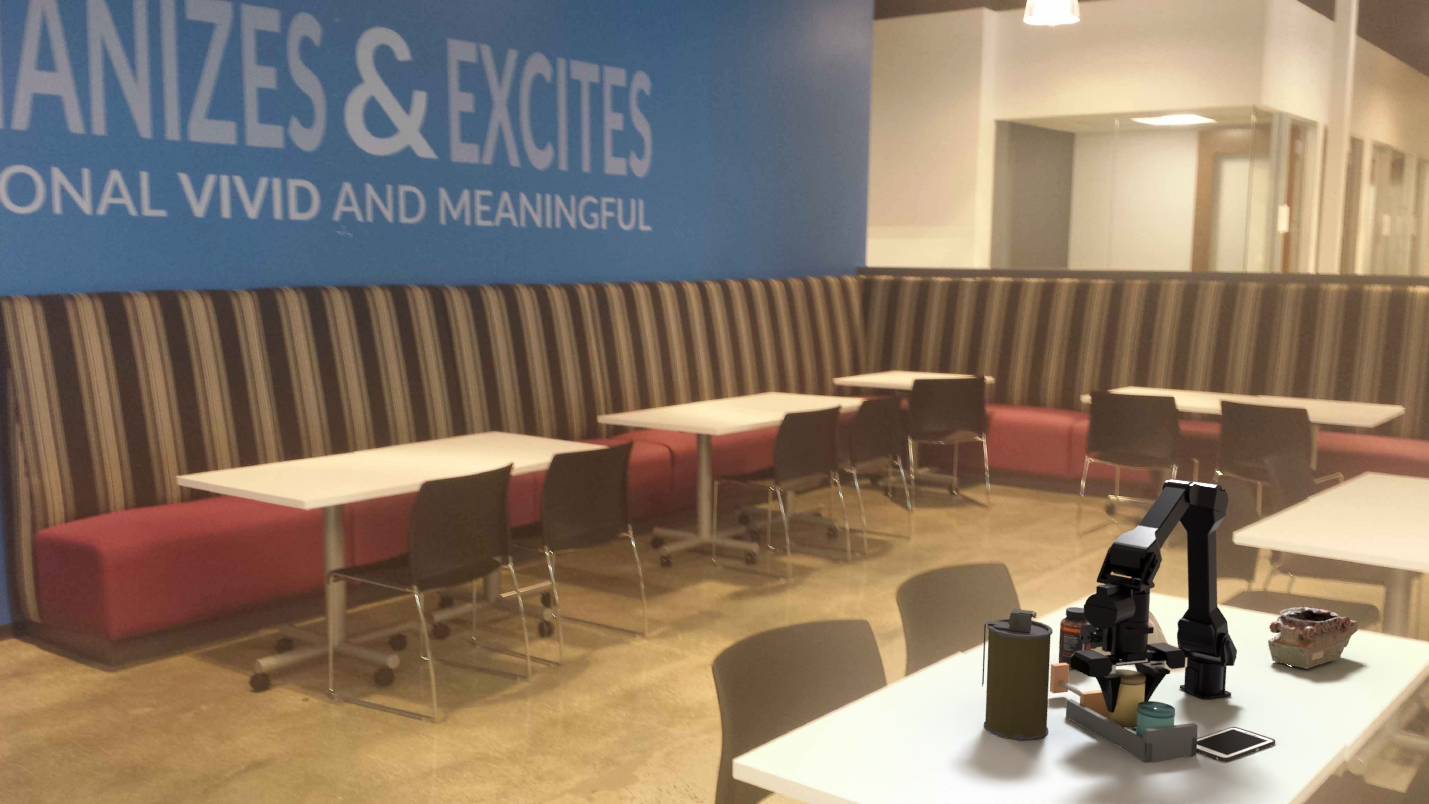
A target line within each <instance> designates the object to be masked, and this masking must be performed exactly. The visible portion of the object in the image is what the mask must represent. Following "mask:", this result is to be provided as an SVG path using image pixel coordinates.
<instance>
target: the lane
mask: <svg viewBox="0 0 1429 804" xmlns="http://www.w3.org/2000/svg"><path fill="white" fill-rule="evenodd" d="M1065 717H1066V718H1067V719H1070V721H1073V722H1074V723H1076V724H1078V725H1079V726H1081V727H1084V728H1085V729H1086V730H1089V731H1091V732H1092V733H1094V734H1095V735H1097V736H1099V737H1101V738H1103V739H1104V740H1106V741H1108V742H1109V743H1111V744H1113V745H1114V746H1117V747H1118V748H1120V749H1122V750H1124V751H1125V752H1127V753H1129V754H1131V755H1132V756H1134V757H1136V758H1137V759H1139V760H1141V761H1142V762H1144V763H1153V762H1159V761H1168V760H1175V759H1183V758H1189V757H1190V758H1191V757H1196V756H1197V753H1196V751H1197V738H1198V732H1199V731H1198V730H1199V729H1198V728H1199V725H1198V724H1197V723H1194V722H1190V723H1181V724H1174V725H1172V726H1164V727H1156V728H1148V729H1143V738H1142V737H1140V736H1138V735H1137V734H1136V732H1135V733H1134V732H1133V731H1131V730H1129V729H1128V728H1124V727H1122V726H1120V725H1118V724H1116V723H1115V722H1113V721H1111V720H1109V719H1108V717H1104V716H1102V715H1100V714H1098V713H1096V712H1094V711H1093V710H1091V709H1089V708H1087V707H1085V706H1083V705H1082V704H1080V702H1078V701H1076V700H1074V699H1073V698H1069V699H1066V706H1065Z"/></svg>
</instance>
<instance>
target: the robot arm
mask: <svg viewBox="0 0 1429 804" xmlns="http://www.w3.org/2000/svg"><path fill="white" fill-rule="evenodd" d="M1228 505H1229V494H1228V493H1227V490H1226V489H1224V488H1223V486H1222V485H1221V484H1215V483H1209V482H1200V481H1193V480H1181V479H1173V478H1171V479H1166V480H1165V481H1164V483H1163V484H1162V489H1161V492H1160V493H1159V494H1158V496H1157V498H1156V499H1155V501H1154V502H1153V503H1152V505H1151V506H1150V507H1149V508H1148V510H1147V511H1146V513H1145V515H1144V516H1143V517H1142V518H1141V520H1140V522H1138V524H1137V525H1136V527H1135V528H1133V529H1130V530H1129V531H1125V532H1123V533H1121V534H1120V535H1119V536H1118V537H1117V539H1115V540H1114V541H1113V542H1112V544H1111V545H1110V547H1108V550H1107V551H1106V554H1105V557H1104V559H1103V561H1102V565H1101V568H1100V570H1099V572H1098V576H1097V578H1096V583H1099V584H1098V585H1096V590H1095V591H1096V592H1095V593H1093V594H1090V595H1089V596H1088V597H1087V599H1086V600H1085V603H1084V604H1083V608H1084V614H1085V617H1086V619H1087V621H1088V622H1089V623H1090V624H1088V625H1081V630H1080V638H1081V642H1082V643H1083V644H1090V649H1091V650H1083V651H1075V652H1074V653H1073V654H1072V656H1071V664H1070V667H1071V668H1073V669H1075V670H1074V671H1077V672H1080V673H1081V674H1083V675H1085V676H1087V677H1089V678H1095V679H1096V681H1097V683H1098V685H1099V688H1100V690H1101V691H1102V694H1103V697H1104V700H1105V703H1106V706H1107V710H1108V711H1109V712H1111V713H1113V712H1114V710H1115V707H1116V702H1117V697H1118V692H1119V687H1120V682H1121V676H1119V675H1117V674H1116V670H1117V667H1125V666H1131V665H1134V667H1135V671H1137V672H1140V673H1142V674H1144V675H1145V676H1146V682H1145V699H1144V701H1150V699H1151V698H1152V696H1153V694H1154V692H1155V690H1156V689H1157V688H1158V687H1159V685H1160V684H1161V682H1162V681H1163V680H1164V678H1165V677H1166V675H1170V674H1171V670H1175V669H1176V670H1177V669H1185V670H1184V682H1183V683H1184V684H1180V685H1179V689H1181V690H1183V691H1185V692H1187V693H1189V694H1192V695H1194V696H1196V697H1198V698H1200V699H1202V700H1203V699H1206V700H1207V699H1215V698H1222V697H1224V698H1225V697H1231V696H1232V692H1230V691H1228V690H1226V683H1227V682H1226V680H1227V667H1233V666H1235V662H1236V660H1237V653H1238V649H1237V647H1236V646H1235V644H1234V641H1233V639H1232V638H1231V635H1230V634H1229V626H1228V620H1227V618H1226V616H1225V615H1224V614H1223V613H1222V611H1221V610H1220V608H1219V607H1218V578H1217V577H1218V575H1217V574H1218V573H1217V572H1218V571H1217V569H1218V568H1217V566H1218V564H1217V563H1218V562H1217V529H1218V528H1219V526H1220V525H1221V524H1222V522H1223V521H1224V519H1225V517H1226V514H1227V508H1228ZM1179 523H1180V525H1181V526H1182V527H1183V528H1184V530H1185V531H1186V553H1187V555H1186V557H1187V558H1186V559H1187V561H1186V562H1187V597H1188V603H1187V605H1188V607H1187V610H1186V611H1185V612H1184V614H1183V615H1182V617H1181V618H1179V619H1178V621H1177V622H1176V623H1177V632H1176V640H1177V641H1176V642H1177V647H1176V646H1173V645H1171V644H1169V643H1166V642H1156V643H1155V642H1153V643H1148V642H1149V641H1148V639H1149V635H1151V634H1154V630H1155V629H1154V626H1152V625H1149V621H1150V620H1149V619H1150V601H1151V599H1150V598H1151V597H1150V596H1151V589H1153V588H1155V586H1156V585H1155V581H1154V579H1155V578H1156V575H1157V574H1158V572H1159V569H1160V567H1161V563H1162V562H1163V557H1162V553H1161V550H1162V548H1163V545H1164V544H1165V542H1166V541H1167V539H1168V538H1169V537H1170V534H1171V533H1172V532H1173V530H1175V527H1177V525H1178V524H1179ZM1112 573H1113V574H1112ZM1097 648H1101V650H1102V651H1103V652H1107V653H1109V654H1102V653H1101V652H1098V651H1096V650H1095V649H1097ZM1166 666H1167V667H1168V668H1169V669H1168V668H1166ZM1170 669H1171V670H1170Z"/></svg>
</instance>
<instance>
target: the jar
mask: <svg viewBox="0 0 1429 804" xmlns="http://www.w3.org/2000/svg"><path fill="white" fill-rule="evenodd" d="M1175 716H1176V708H1175V707H1174V706H1172V705H1171V704H1168V703H1165V702H1161V701H1155V700H1154V701H1153V700H1152V701H1151V700H1149V701H1144V702H1140V703H1138V704H1137V727H1136V728H1135V729H1136V730H1135V734H1137V735H1138V736H1140V737H1142V738H1143V729H1148V728H1156V727H1164V726H1172V725H1175Z"/></svg>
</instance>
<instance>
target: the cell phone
mask: <svg viewBox="0 0 1429 804" xmlns="http://www.w3.org/2000/svg"><path fill="white" fill-rule="evenodd" d="M1275 745H1276V740H1275V739H1274V738H1272V737H1268V736H1265V735H1263V734H1259V733H1256V732H1253V731H1250V730H1247V729H1244V728H1241V727H1237V726H1231V727H1227V728H1224V729H1220V730H1218V731H1215V732H1212V733H1208V734H1207V735H1204V736H1200V737H1197V751H1196V754H1201V755H1204V756H1205V757H1208V758H1211V759H1213V760H1215V761H1218V762H1222V763H1227V762H1228V763H1229V762H1232V761H1234V760H1237V759H1239V758H1242V757H1246V756H1248V755H1251V754H1254V753H1256V752H1257V751H1262V750H1264V749H1267V748H1270V747H1272V746H1275Z"/></svg>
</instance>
